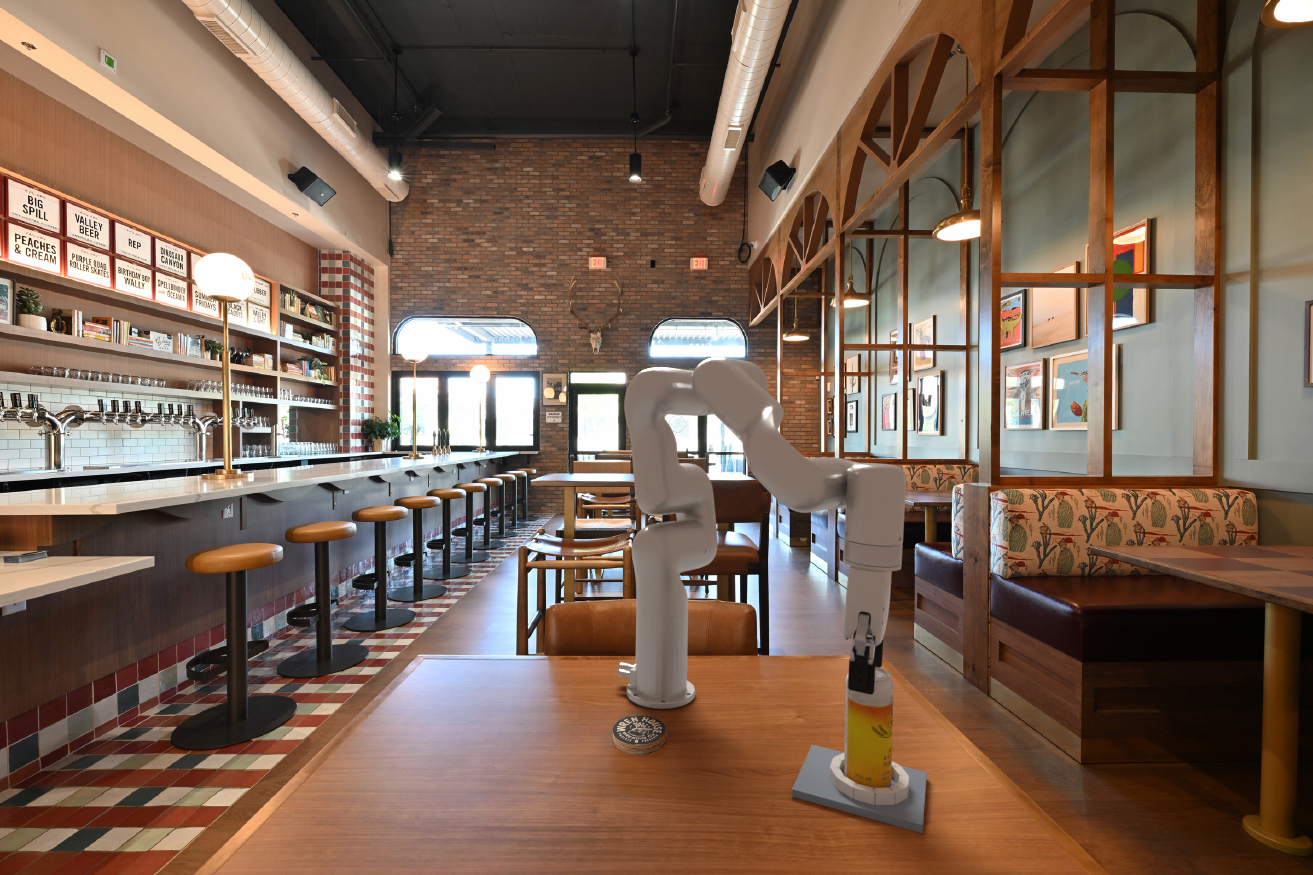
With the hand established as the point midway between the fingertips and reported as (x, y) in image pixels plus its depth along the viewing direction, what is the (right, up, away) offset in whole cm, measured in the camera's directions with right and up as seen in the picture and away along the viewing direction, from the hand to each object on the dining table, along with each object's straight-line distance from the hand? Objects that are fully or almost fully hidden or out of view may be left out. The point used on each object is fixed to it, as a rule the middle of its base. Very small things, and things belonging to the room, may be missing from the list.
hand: (865, 677), depth 83 cm
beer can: (0, -14, 0) cm, 14 cm away
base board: (-1, -15, 0) cm, 15 cm away
